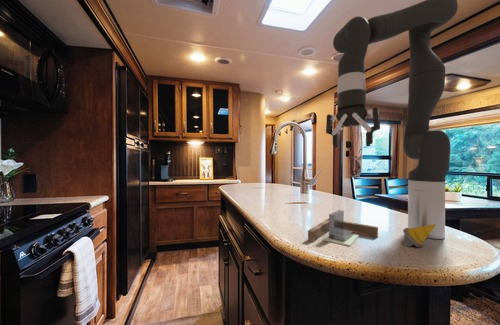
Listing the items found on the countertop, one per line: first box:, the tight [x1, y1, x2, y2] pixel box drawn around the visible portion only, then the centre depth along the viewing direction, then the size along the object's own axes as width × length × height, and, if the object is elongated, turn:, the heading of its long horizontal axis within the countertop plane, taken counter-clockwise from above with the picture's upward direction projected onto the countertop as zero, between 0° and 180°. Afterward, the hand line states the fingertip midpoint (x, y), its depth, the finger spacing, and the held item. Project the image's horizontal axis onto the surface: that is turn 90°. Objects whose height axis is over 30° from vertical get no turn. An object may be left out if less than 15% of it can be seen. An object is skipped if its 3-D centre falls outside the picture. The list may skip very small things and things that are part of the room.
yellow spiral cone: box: [402, 224, 436, 248], centre depth 59 cm, size 5×5×10 cm
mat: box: [322, 233, 360, 247], centre depth 65 cm, size 11×8×1 cm
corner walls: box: [307, 218, 379, 243], centre depth 65 cm, size 18×15×3 cm
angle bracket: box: [328, 209, 354, 242], centre depth 65 cm, size 8×4×7 cm, turn 138°
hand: (351, 147), depth 64 cm, fingers open, 8 cm apart
